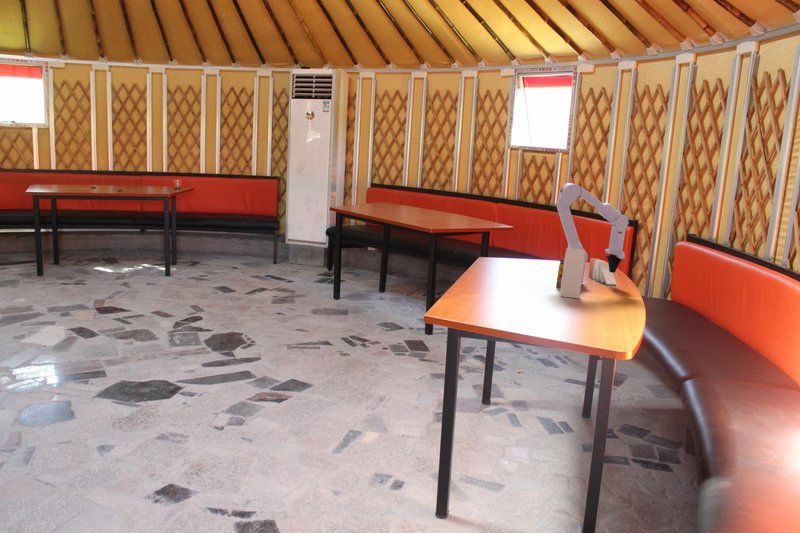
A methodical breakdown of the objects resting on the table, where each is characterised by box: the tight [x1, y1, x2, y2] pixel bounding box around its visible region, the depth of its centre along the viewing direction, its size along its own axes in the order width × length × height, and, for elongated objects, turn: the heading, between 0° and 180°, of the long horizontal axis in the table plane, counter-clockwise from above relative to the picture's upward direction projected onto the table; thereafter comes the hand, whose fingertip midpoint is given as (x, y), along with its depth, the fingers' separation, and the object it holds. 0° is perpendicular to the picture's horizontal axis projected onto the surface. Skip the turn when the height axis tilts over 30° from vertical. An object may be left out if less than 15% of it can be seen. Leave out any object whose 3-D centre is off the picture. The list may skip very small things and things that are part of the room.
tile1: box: [601, 269, 617, 286], centre depth 283 cm, size 1×4×8 cm
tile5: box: [587, 258, 602, 277], centre depth 298 cm, size 1×4×8 cm, turn 97°
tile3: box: [597, 261, 609, 281], centre depth 289 cm, size 1×4×8 cm, turn 97°
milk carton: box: [559, 247, 586, 299], centre depth 253 cm, size 7×7×19 cm
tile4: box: [593, 260, 606, 279], centre depth 293 cm, size 1×4×8 cm, turn 97°
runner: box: [586, 275, 620, 288], centre depth 289 cm, size 23×6×1 cm, turn 7°
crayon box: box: [555, 259, 564, 289], centre depth 268 cm, size 7×3×12 cm, turn 73°
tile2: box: [599, 264, 609, 283], centre depth 286 cm, size 1×4×8 cm
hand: (612, 272), depth 280 cm, fingers closed
